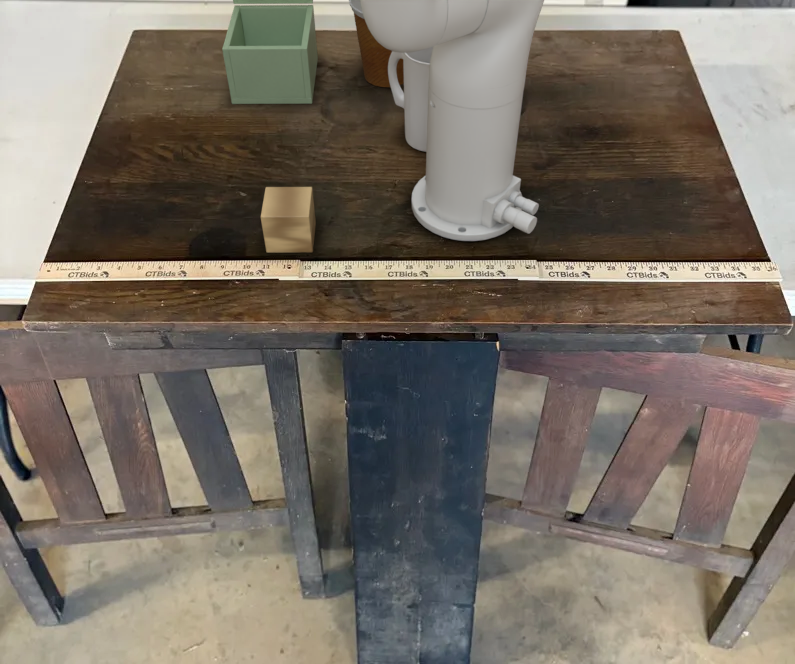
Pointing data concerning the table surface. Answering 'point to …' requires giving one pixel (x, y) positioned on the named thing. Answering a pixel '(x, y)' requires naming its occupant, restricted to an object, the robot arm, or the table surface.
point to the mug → (412, 93)
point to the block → (288, 219)
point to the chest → (271, 54)
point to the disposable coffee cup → (373, 52)
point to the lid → (271, 1)
